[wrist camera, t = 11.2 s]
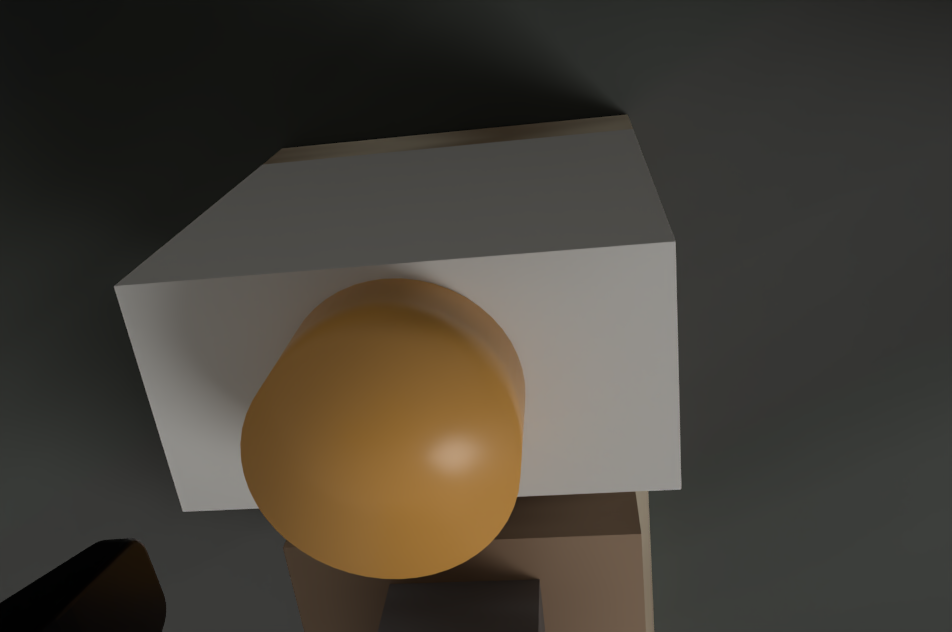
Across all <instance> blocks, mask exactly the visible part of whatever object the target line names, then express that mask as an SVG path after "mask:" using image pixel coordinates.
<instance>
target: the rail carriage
mask: <svg viewBox="0 0 952 632" xmlns="http://www.w3.org/2000/svg"><path fill="white" fill-rule="evenodd" d="M283 550H284V554H285V558H286V562H287V566H288V569H289V573H290V577H291V581H292V585H293V589H294V593H295V597H296V601H297V605H298V609H299V612H300V616H301V620H302V624H303V628H304V632H646V621H645V600H644V579H643V557H642V536H641V528H640V520H639V513H638V506H637V499H636V492H635V491H634V492H612V493H590V494H568V495H545V496H523V497H517V499H516V503H515V506H514V508H513V511H512V513H511V515H510V517H509V519H508V521H507V522H506V524H505V525H504V527H503V528H502V530H501V531H500V533H499V534H498V535H497V536H496V537H495V538H494V540H493V541H492V542H491V543H490V544H489V545H488V546H486V547H485V548H484V549H483V550H482V551H480V552H479V553H478V554H477V555H475V556H474V557H472V558H470V559H469V560H467V561H466V562H464V563H462V564H460V565H457V566H455V567H453V568H451V569H449V570H446V571H442V572H439V573H436V574H433V575H428V576H423V577H418V578H407V579H381V578H373V577H365V576H361V575H357V574H352V573H348V572H345V571H342V570H339V569H336V568H333V567H331V566H329V565H327V564H324V563H322V562H320V561H318V560H316V559H314V558H312V557H311V556H309V555H307V554H306V553H304V552H302V551H301V550H299V549H298V548H297V547H295V546H294V545H293V544H291V543H290V542H289V541H287V540H286V542H285V544H284V547H283Z"/></svg>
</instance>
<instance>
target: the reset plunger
mask: <svg viewBox="0 0 952 632" xmlns="http://www.w3.org/2000/svg"><path fill="white" fill-rule="evenodd" d="M524 413H525V380H524V375H523V369H522V366H521V363H520V360H519V357H518V355H517V353H516V351H515V349H514V347H513V345H512V343H511V341H510V340H509V338H508V337H507V335H506V334H505V332H504V331H503V329H502V328H501V327H500V326H499V325H498V324H497V322H496V321H495V320H494V319H493V318H492V317H491V316H490V315H489V314H488V313H486V312H485V311H484V310H483V309H482V308H481V307H479V306H478V305H476V304H475V303H474V302H472V301H471V300H469V299H468V298H466V297H464V296H462V295H460V294H458V293H456V292H454V291H452V290H450V289H447V288H445V287H442V286H439V285H436V284H433V283H429V282H424V281H420V280H413V279H403V278H389V279H378V280H371V281H367V282H363V283H359V284H356V285H353V286H350V287H348V288H345V289H343V290H341V291H339V292H337V293H335V294H334V295H332V296H330V297H329V298H327V299H325V300H324V301H323V302H322V303H320V304H319V305H318V306H317V307H316V308H314V309H313V311H312V312H311V313H310V314H309V315H308V316H307V317H306V318H305V319H304V321H303V322H302V324H301V325H300V327H299V328H298V330H297V331H296V333H295V334H294V336H293V337H292V339H291V341H290V342H289V344H288V345H287V347H286V348H285V350H284V352H283V353H282V355H281V356H280V358H279V359H278V361H277V363H276V364H275V366H274V367H273V369H272V370H271V372H270V373H269V375H268V377H267V378H266V380H265V381H264V383H263V384H262V386H261V388H260V389H259V391H258V392H257V394H256V395H255V397H254V399H253V400H252V402H251V405H250V407H249V409H248V411H247V413H246V416H245V420H244V424H243V427H242V434H241V442H240V449H241V462H242V468H243V473H244V477H245V480H246V482H247V485H248V488H249V491H250V493H251V495H252V497H253V499H254V501H255V503H256V504H257V506H258V507H259V509H260V510H261V512H262V513H263V515H264V516H265V518H266V519H267V520H268V521H269V522H270V524H271V525H272V526H273V527H274V528H275V529H276V530H277V531H278V532H279V533H280V534H281V535H282V536H283V537H284V538H285V539H286V540H287V541H289V542H290V543H291V544H293V545H294V546H295V547H297V548H298V549H299V550H301V551H302V552H304V553H306V554H307V555H309V556H311V557H312V558H314V559H316V560H318V561H320V562H322V563H324V564H327V565H329V566H331V567H333V568H336V569H339V570H342V571H345V572H348V573H352V574H357V575H361V576H365V577H373V578H381V579H407V578H418V577H423V576H428V575H433V574H436V573H439V572H442V571H446V570H449V569H451V568H453V567H455V566H457V565H460V564H462V563H464V562H466V561H467V560H469V559H470V558H472V557H474V556H475V555H477V554H478V553H479V552H480V551H482V550H483V549H484V548H485V547H486V546H488V545H489V544H490V543H491V542H492V541H493V540H494V538H495V537H496V536H497V535H498V534H499V533H500V531H501V530H502V528H503V527H504V525H505V524H506V522H507V521H508V519H509V517H510V515H511V513H512V511H513V508H514V506H515V503H516V499H517V496H518V492H519V484H520V475H521V460H522V444H523V429H524Z"/></svg>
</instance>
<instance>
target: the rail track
mask: <svg viewBox="0 0 952 632" xmlns="http://www.w3.org/2000/svg"><path fill="white" fill-rule="evenodd" d="M627 129H633V128H632V125H631V122H630V120H629V117H628V114H627V115H617V116H607V117H597V118H586V119H576V120H566V121H556V122H546V123H536V124H525V125H515V126H505V127H495V128H485V129H475V130H464V131H454V132H444V133H434V134H424V135H413V136H403V137H393V138H383V139H373V140H363V141H352V142H342V143H332V144H322V145H312V146H302V147H291V148H282V149H281V150H280V151H279V152H277V153H276V154H275V155H274V156H272V157H271V158H270V159H269V160H267V161H266V162H265V163H264V164H273V163H284V162H294V161H304V160H315V159H325V158H336V157H346V156H356V155H367V154H377V153H388V152H398V151H408V150H419V149H429V148H440V147H450V146H460V145H471V144H481V143H492V142H502V141H512V140H523V139H533V138H544V137H554V136H564V135H575V134H585V133H596V132H606V131H616V130H627ZM635 492H636V499H637V506H638V513H639V520H640V528H641V536H642V557H643V579H644V600H645V621H646V632H654V617H653V593H652V570H651V546H650V522H649V498H648V491H635Z"/></svg>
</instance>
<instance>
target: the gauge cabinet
mask: <svg viewBox="0 0 952 632" xmlns="http://www.w3.org/2000/svg"><path fill="white" fill-rule="evenodd" d="M389 278H403V279H413V280H420V281H424V282H429V283H433V284H436V285H439V286H442V287H445V288H447V289H450V290H452V291H454V292H456V293H458V294H460V295H462V296H464V297H466V298H468V299H469V300H471V301H472V302H474V303H475V304H476V305H478V306H479V307H481V308H482V309H483V310H484V311H485V312H486V313H488V314H489V315H490V316H491V317H492V318H493V319H494V320H495V321H496V322H497V324H498V325H499V326H500V327H501V328H502V329H503V331H504V332H505V334H506V335H507V337H508V338H509V340H510V341H511V343H512V345H513V347H514V349H515V351H516V353H517V355H518V357H519V360H520V363H521V366H522V369H523V375H524V380H525V413H524V429H523V444H522V460H521V475H520V484H519V492H518V496H517V497H523V496H545V495H568V494H590V493H612V492H634V491H657V490H679V489H681V454H680V411H679V368H678V325H677V282H676V241H675V239H674V236H673V233H672V231H671V228H670V225H669V223H668V220H667V217H666V215H665V212H664V210H663V207H662V204H661V202H660V199H659V196H658V194H657V191H656V188H655V186H654V183H653V180H652V178H651V175H650V173H649V170H648V167H647V165H646V162H645V159H644V157H643V154H642V151H641V149H640V146H639V143H638V141H637V138H636V136H635V133H634V130H633V129H627V130H616V131H606V132H596V133H585V134H575V135H564V136H554V137H544V138H533V139H523V140H512V141H502V142H492V143H481V144H471V145H460V146H450V147H440V148H429V149H419V150H408V151H398V152H388V153H377V154H367V155H356V156H346V157H336V158H325V159H315V160H304V161H294V162H284V163H273V164H263V165H261V166H260V167H259V168H258V169H256V170H255V171H254V172H253V173H252V174H250V175H249V176H248V177H247V178H245V179H244V180H243V181H242V182H241V183H239V184H238V185H237V186H236V187H234V188H233V189H232V190H231V191H230V192H228V193H227V194H226V195H225V196H223V197H222V198H221V199H220V200H219V201H217V202H216V203H215V204H214V205H212V206H211V207H210V208H209V209H208V210H206V211H205V212H204V213H203V214H201V215H200V216H199V217H198V218H197V219H195V220H194V221H193V222H192V223H190V224H189V225H188V226H187V227H186V228H184V229H183V230H182V231H181V232H179V233H178V234H177V235H176V236H175V237H173V238H172V239H171V240H170V241H168V242H167V243H166V244H165V245H163V246H162V247H161V248H160V249H159V250H157V251H156V252H155V253H154V254H152V255H151V256H150V257H149V258H148V259H146V260H145V261H144V262H143V263H141V264H140V265H139V266H138V267H137V268H135V269H134V270H133V271H132V272H130V273H129V274H128V275H127V276H126V277H124V278H123V279H122V280H121V281H119V282H118V283H117V284H116V285H115V286H114V289H115V292H116V295H117V299H118V302H119V305H120V308H121V312H122V315H123V318H124V321H125V325H126V328H127V331H128V334H129V338H130V341H131V344H132V347H133V351H134V354H135V357H136V360H137V364H138V367H139V370H140V373H141V377H142V380H143V383H144V386H145V390H146V393H147V396H148V400H149V403H150V406H151V409H152V413H153V416H154V419H155V422H156V426H157V429H158V432H159V435H160V439H161V442H162V445H163V448H164V452H165V455H166V458H167V461H168V465H169V468H170V471H171V474H172V478H173V481H174V484H175V487H176V491H177V494H178V497H179V500H180V504H181V507H182V510H183V512H189V511H211V510H233V509H255V508H259V507H258V506H257V504H256V503H255V501H254V499H253V497H252V495H251V493H250V491H249V488H248V485H247V482H246V480H245V477H244V473H243V468H242V462H241V449H240V442H241V434H242V427H243V424H244V420H245V416H246V413H247V411H248V409H249V407H250V405H251V402H252V400H253V399H254V397H255V395H256V394H257V392H258V391H259V389H260V388H261V386H262V384H263V383H264V381H265V380H266V378H267V377H268V375H269V373H270V372H271V370H272V369H273V367H274V366H275V364H276V363H277V361H278V359H279V358H280V356H281V355H282V353H283V352H284V350H285V348H286V347H287V345H288V344H289V342H290V341H291V339H292V337H293V336H294V334H295V333H296V331H297V330H298V328H299V327H300V325H301V324H302V322H303V321H304V319H305V318H306V317H307V316H308V315H309V314H310V313H311V312H312V311H313V309H314V308H316V307H317V306H318V305H319V304H320V303H322V302H323V301H324V300H325V299H327V298H329V297H330V296H332V295H334V294H335V293H337V292H339V291H341V290H343V289H345V288H348V287H350V286H353V285H356V284H359V283H363V282H367V281H371V280H378V279H389Z"/></svg>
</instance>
